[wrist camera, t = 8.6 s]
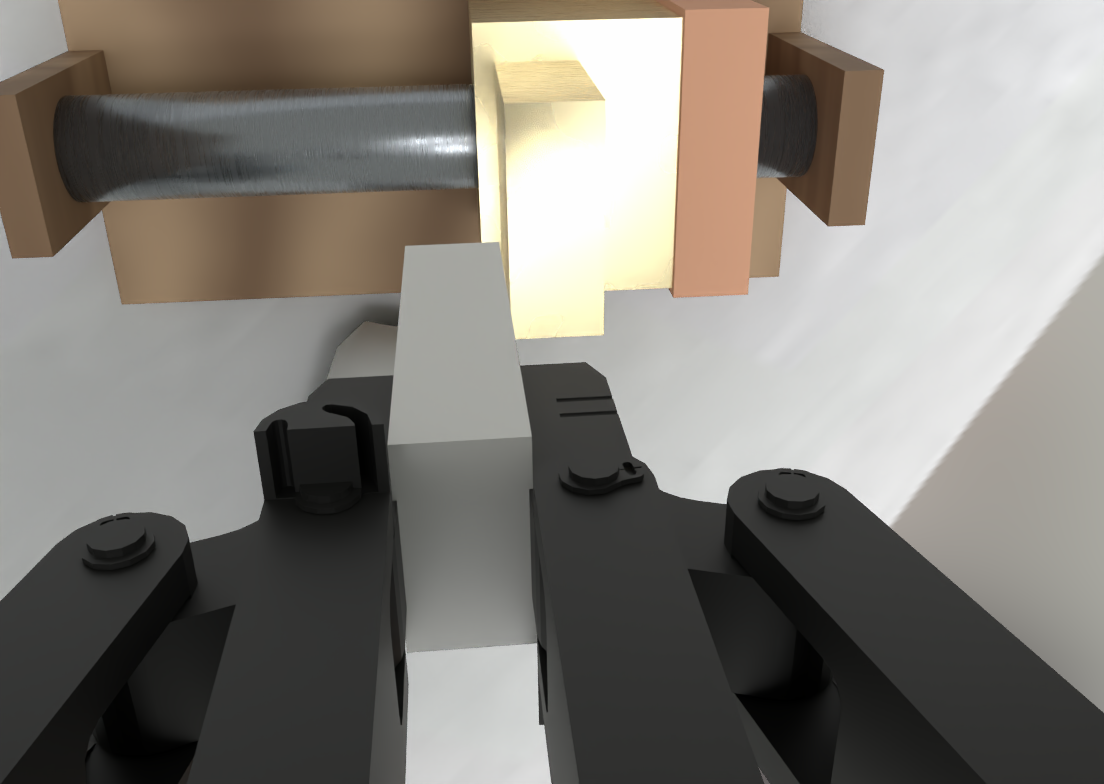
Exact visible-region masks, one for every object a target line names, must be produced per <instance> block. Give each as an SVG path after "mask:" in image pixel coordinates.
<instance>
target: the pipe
mask: <svg viewBox="0 0 1104 784" xmlns="http://www.w3.org/2000/svg"><path fill="white" fill-rule="evenodd" d="M817 127H818V114H817V102H816V96H815V91H814V88H813V85H812V82H811V80H810V79H809V77H808V76H806V75H770V76H764V85H763V98H762V112H761V125H760V138H759V151H758V165H757V178H778V177H802V176H804V175H805V174H806V173H807V172H808V170H809V168H810V166H811V163H812V160H813V157H814V152H815V147H816V140H817ZM53 140H54V149H55V156H56V161H57V165H58V169H59V172H60V176H61V178H62V181H63V183H64V186H65V188H66V190H67V191H68V193H69V194H70V196H71V197H72V198H73V199H74V200H75V201H77V202H105V201H133V200H161V199H189V198H217V197H245V196H273V195H301V194H329V193H357V192H385V191H413V190H441V189H469V188H478V166H477V144H476V122H475V99H474V84H456V85H421V86H386V87H351V88H316V89H281V90H246V91H211V92H176V93H141V94H106V95H71V96H63V97H62V98H60V100H59V101H58V103H57V106H56V109H55V114H54V121H53Z"/></svg>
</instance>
